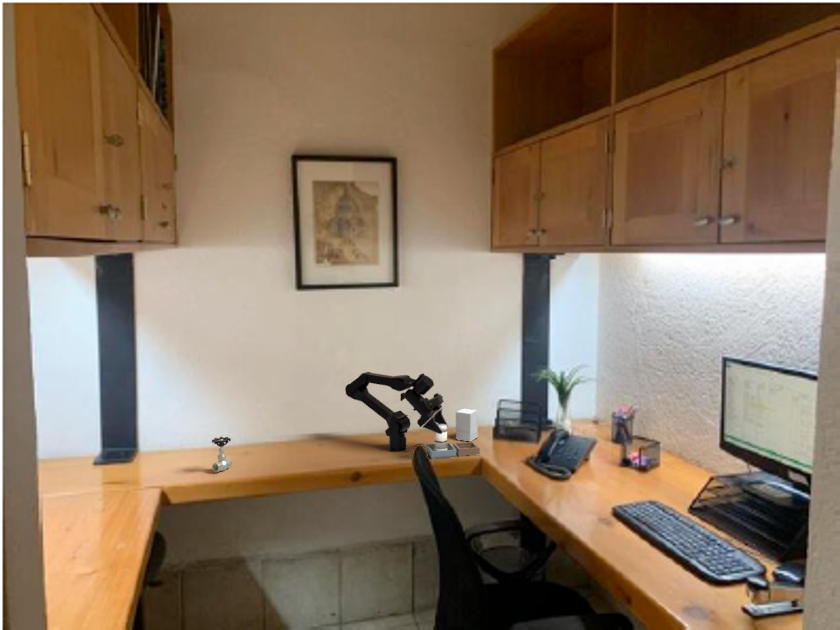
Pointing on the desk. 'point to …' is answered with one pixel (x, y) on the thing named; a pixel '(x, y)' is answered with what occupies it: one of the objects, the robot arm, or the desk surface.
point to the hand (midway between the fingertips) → (444, 430)
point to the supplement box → (466, 424)
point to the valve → (221, 455)
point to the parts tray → (441, 454)
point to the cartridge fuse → (441, 438)
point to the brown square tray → (466, 448)
